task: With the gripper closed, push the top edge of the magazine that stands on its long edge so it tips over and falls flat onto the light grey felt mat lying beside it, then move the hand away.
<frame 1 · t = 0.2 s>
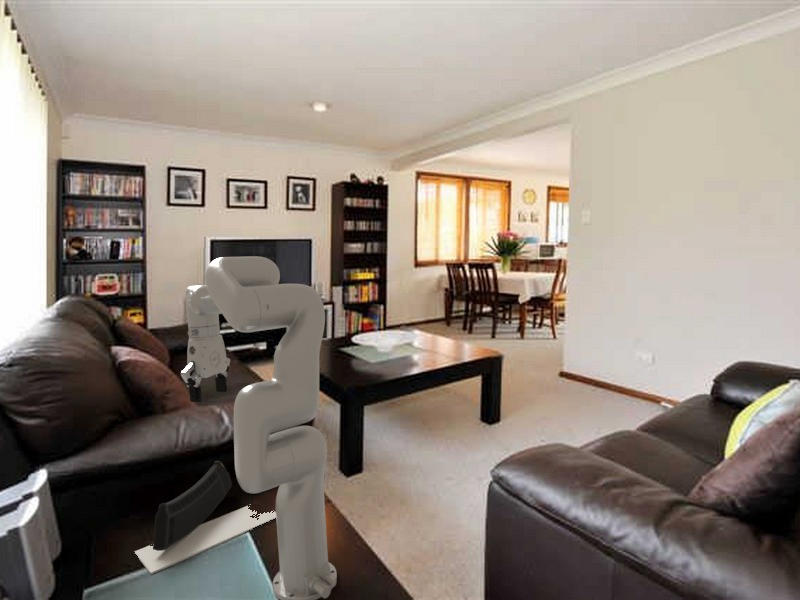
hand: (209, 396, 129), 31 cm above the table, tool pointing down, fingers open, 9 cm apart
magazine: (198, 522, 124), on the table, touching felt mat
felt mat: (211, 534, 118), on the table
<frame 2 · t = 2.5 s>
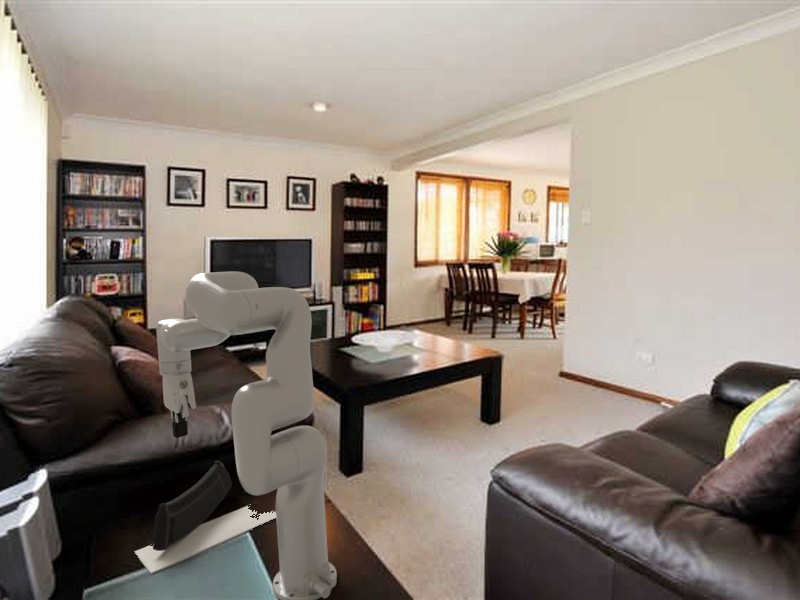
hand: (180, 435, 127), 21 cm above the table, tool pointing down, fingers closed
nothing on the table moved.
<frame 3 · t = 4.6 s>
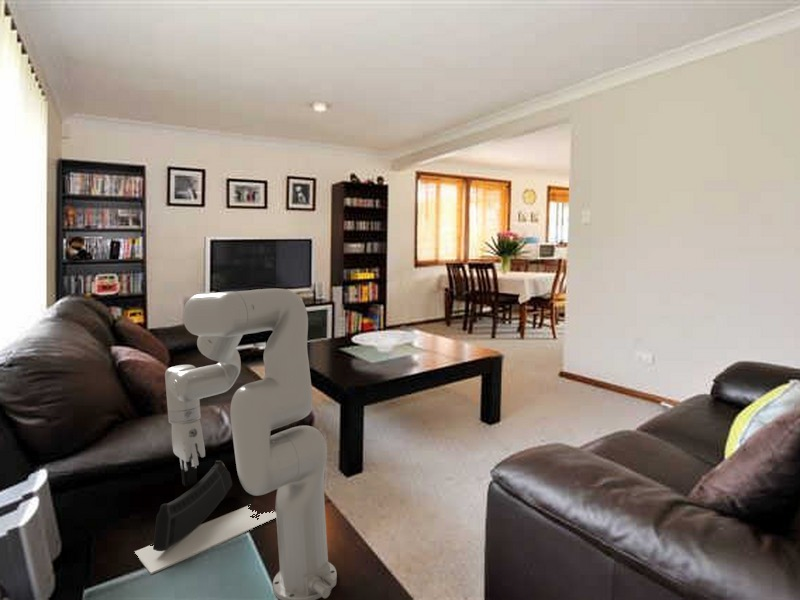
hand: (189, 483, 126), 9 cm above the table, tool pointing down, fingers closed
magazine: (198, 521, 124), on the table, touching felt mat, gripper
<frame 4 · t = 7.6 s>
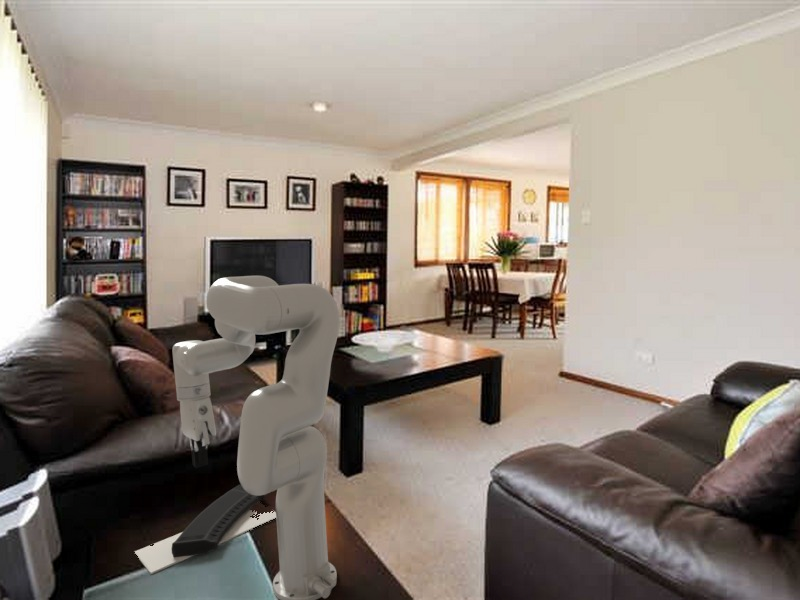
hand: (200, 465, 119), 16 cm above the table, tool pointing down, fingers closed
magazine: (203, 515, 123), point 2 cm above the table, touching felt mat
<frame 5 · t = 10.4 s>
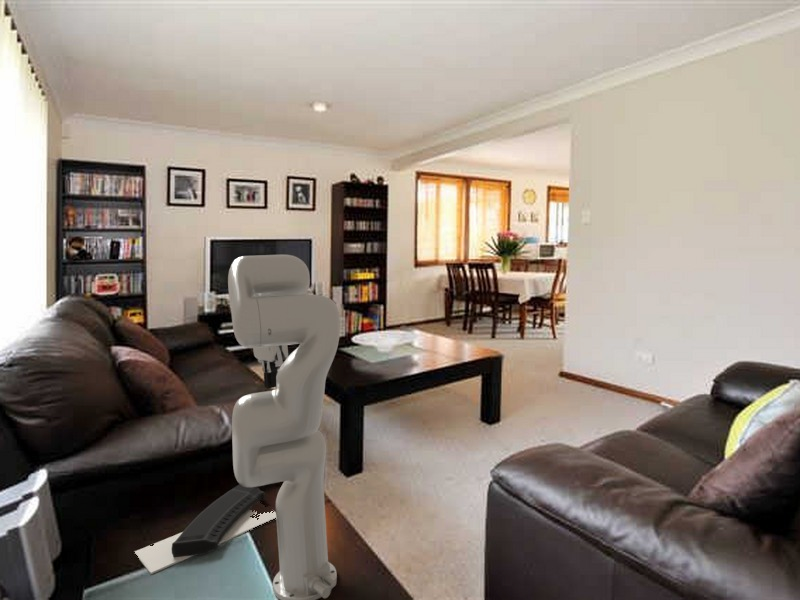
hand: (271, 386, 125), 33 cm above the table, tool pointing down, fingers closed
nothing on the table moved.
at the end: magazine inside the target area (3.3 cm from its centre), point 2.0 cm above the table; magazine touching felt mat; magazine moved 2.5 cm from its start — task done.
